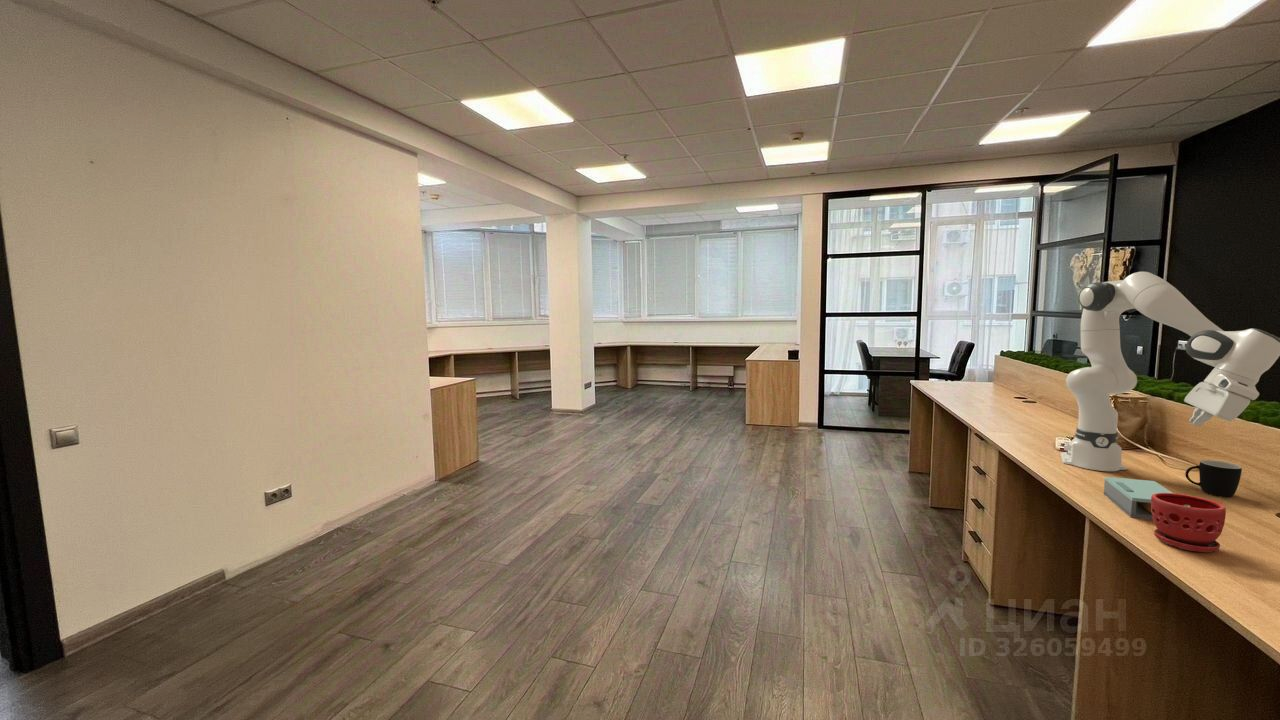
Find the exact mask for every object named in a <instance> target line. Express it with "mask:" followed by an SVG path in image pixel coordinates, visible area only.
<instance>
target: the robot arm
mask: <svg viewBox="0 0 1280 720" xmlns="http://www.w3.org/2000/svg"><path fill="white" fill-rule="evenodd" d="M1078 302H1079V305H1080V306H1081V308H1083V309H1082V312H1081V318H1080V351H1081V353H1082V354H1084V355H1085V356H1086V357H1087V358H1088V360H1089V362H1090V365H1091V366H1086V367H1081V368H1077V369H1074V370H1072V371H1070V372H1069V373H1068V375H1067V376H1066V378H1065V385H1066V387H1067V389H1068V390H1069V391H1070V392H1071V393H1072V394H1073V395H1074V397H1075V399H1076V403H1077V406H1078V423H1077V427H1076V430H1075V432H1074V438H1073V439H1072V440H1071V441H1070V442H1069V443H1068V444H1064V446H1063V450H1064V451H1065V452H1064V451H1063V452H1060V457H1061V460H1062V463H1063V464H1067V465H1070V466H1076V467H1078V468H1082V469H1087V470H1092V471H1099V472H1100V471H1101V472H1119V471H1120V470H1121V471H1123V470H1125V471H1126V470H1127V466H1126V465H1124V464H1122V462H1123V461H1122V460H1123V457H1122V455H1123V454H1122V453H1123V451H1122V447H1121V446H1120V445H1119V444H1118V439H1119V433H1118V432H1117V431H1118V420H1119V413H1118V411H1117V410H1116V408H1114V407H1113V406H1112V403H1111V399H1110V395H1111V396H1113V395H1121V394H1123V393H1128V392H1130V391H1132V390H1133V389H1134V388H1136V387H1137V384H1138V378H1137V375H1136V374H1135V371H1133V370H1131V369H1130V367H1128V364H1127V363H1126V360H1125V358H1124V356H1123V353H1122V348H1121V333H1120V332H1121V328H1120V316H1121V315H1122V313H1124V312H1127V313H1129V314H1131V313H1134V312H1137V311H1138V312H1139V313H1140V314H1141V315H1144V317H1147V318H1148V319H1150V320H1152V321H1155V322H1157V323H1160V324H1163V325H1166V326H1168V327H1170V328H1171V327H1172V328H1174V329H1176V330H1178V331H1181V332H1183V333H1185V334H1187V335H1188V336H1189V337H1190V338H1189V339H1188V340H1187V341H1186V344H1185V351H1186V353H1187V355H1188V356H1189V357H1191V358H1193V360H1196V361H1199V362H1201V363H1203V364H1206V365H1208V366H1210V367H1214V368H1213V369H1211V371H1210V372H1209V374H1207V376H1206V377H1205V379H1203V381H1200V382H1198V384H1196V385H1195V386H1194V387H1193V388H1192V389H1191V390H1190V391H1189V392H1188V394H1186V396H1185V397H1184V399H1183V402H1184V403H1187V404H1189V405H1191V406H1193V407H1195V409H1194V410H1193V411H1192V412H1193V413H1192V416H1191V417H1190V419H1189V420H1188V421H1189V423H1190V424H1192V425H1195V426H1196V427H1201V426H1202V425H1204V423H1205V422H1208V421H1209V420H1211V419H1212V418H1213V417H1217V418H1220V419H1222V420H1224V421H1228V422H1231V421H1233V420H1235V419H1236V418H1238V417H1239V416H1240V415H1241V414H1242V413H1243V412H1244V411H1245V410H1246V408H1247V407H1248V406H1249V405H1250V403H1251V400H1252V401H1254V400H1255V401H1256V399H1258V398H1259V396H1260V392H1259V391H1258V390H1257V387H1256V385H1257V384H1258V383H1259V381H1260V378H1261V376H1262V375H1263V374H1264V373H1265V372H1267V371H1269V370H1270V368H1271V367H1272V366H1273V365H1274V364H1275V363H1276V361H1277V360H1278V359H1279V358H1280V337H1278V336H1276V335H1274V334H1271V333H1269V332H1267V331H1265V330H1262V329H1259V328H1254V327H1253V328H1247V329H1243V330H1235V331H1234V330H1232V331H1231V330H1229V331H1228V330H1227V331H1225V330H1224V329H1222V328H1221V327H1220V326H1218V325H1217V324H1215V323H1214V322H1213V321H1211V320H1210V319H1209V318H1208V317H1206V316H1205V315H1204V314H1203V313H1202V312H1201V311H1200V310H1199V309H1198V308H1197V307H1196V306H1195V305H1194V304H1192V303H1191V301H1190V300H1189V299H1187V298H1186V296H1184V295H1183V294H1182V292H1180V290H1178V288H1176V287H1175V286H1173V284H1171V283H1169V282H1168V281H1166V280H1165V279H1163V278H1161V277H1160V276H1158V275H1155V274H1153V273H1152V272H1149V271H1137V272H1133V273H1131V274H1129V275H1127V276H1126V277H1125V278H1124V279H1120V280H1119V279H1117V280H1116V279H1115V280H1112V281H1111V280H1109V281H1098V282H1097V281H1096V282H1092V283H1089V284H1086V285H1085V286H1083V287H1082V288H1081V290H1080V292H1079V293H1078Z"/></svg>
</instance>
